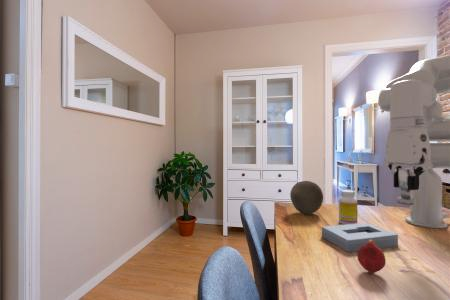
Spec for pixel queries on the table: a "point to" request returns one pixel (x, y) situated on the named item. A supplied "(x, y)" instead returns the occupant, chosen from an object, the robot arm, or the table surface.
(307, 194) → the dark brown ball
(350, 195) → the supplement bottle
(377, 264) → the onion
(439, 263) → the table surface
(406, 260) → the table surface
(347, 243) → the keyhole plate
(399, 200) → the stud
